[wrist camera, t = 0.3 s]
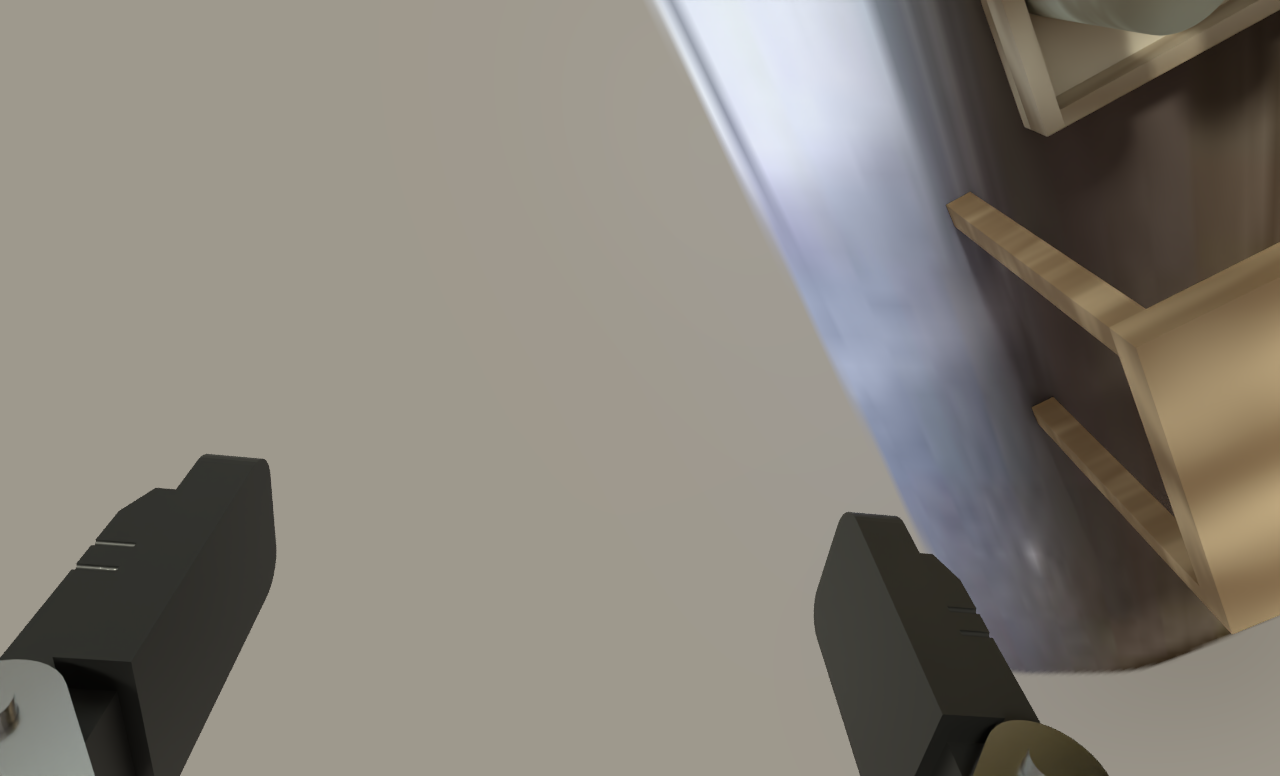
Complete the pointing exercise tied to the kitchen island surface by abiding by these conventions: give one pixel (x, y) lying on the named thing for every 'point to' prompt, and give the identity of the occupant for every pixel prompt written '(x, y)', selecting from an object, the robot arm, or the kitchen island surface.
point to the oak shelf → (1178, 410)
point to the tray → (1102, 48)
